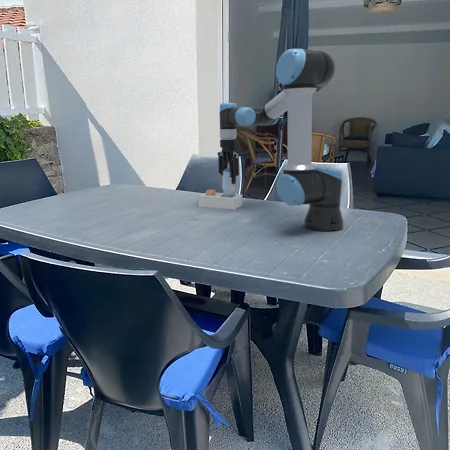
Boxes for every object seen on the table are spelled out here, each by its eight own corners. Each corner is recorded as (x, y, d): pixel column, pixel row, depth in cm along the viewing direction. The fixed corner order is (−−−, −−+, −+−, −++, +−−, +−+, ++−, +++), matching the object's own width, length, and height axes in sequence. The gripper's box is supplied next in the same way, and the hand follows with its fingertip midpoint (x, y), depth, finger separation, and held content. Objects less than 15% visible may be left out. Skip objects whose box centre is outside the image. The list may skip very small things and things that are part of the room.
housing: (234, 211, 194) (234, 198, 192) (198, 208, 201) (198, 195, 199) (242, 207, 203) (242, 194, 201) (207, 204, 209) (207, 191, 208)
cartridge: (236, 203, 199) (236, 169, 195) (227, 204, 196) (227, 169, 192) (229, 201, 203) (229, 167, 199) (221, 203, 200) (220, 168, 196)
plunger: (213, 202, 200) (213, 191, 199) (205, 202, 202) (204, 190, 200) (216, 201, 204) (216, 189, 203) (208, 200, 206) (208, 189, 204)
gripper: (247, 139, 187) (247, 191, 193) (223, 137, 201) (223, 186, 207) (234, 140, 183) (234, 193, 189) (210, 138, 197) (210, 188, 203)
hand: (228, 189), depth 198 cm, fingers closed on cartridge, 5 cm apart
